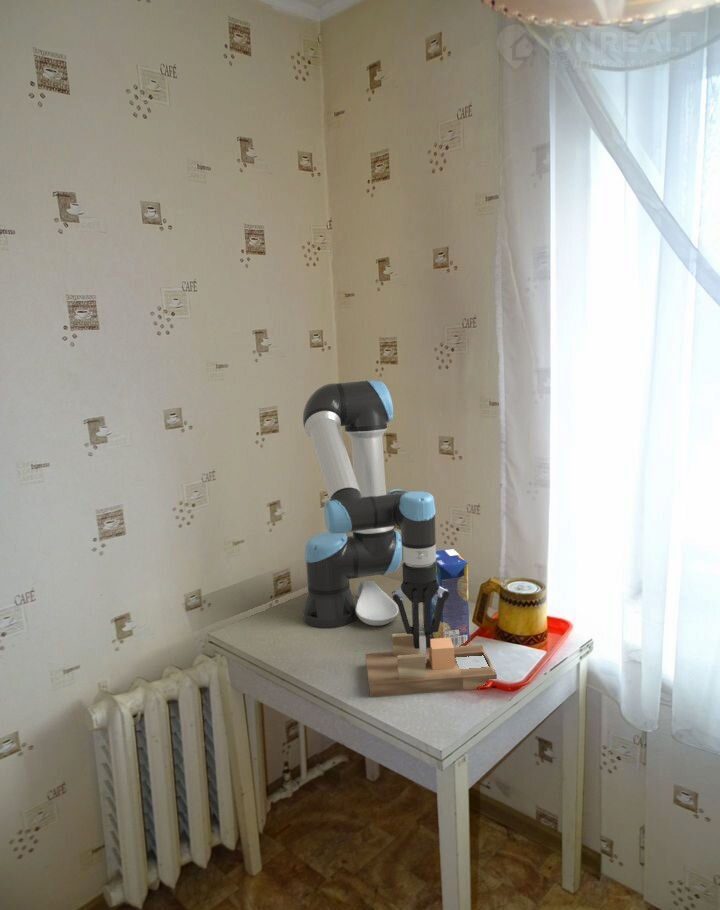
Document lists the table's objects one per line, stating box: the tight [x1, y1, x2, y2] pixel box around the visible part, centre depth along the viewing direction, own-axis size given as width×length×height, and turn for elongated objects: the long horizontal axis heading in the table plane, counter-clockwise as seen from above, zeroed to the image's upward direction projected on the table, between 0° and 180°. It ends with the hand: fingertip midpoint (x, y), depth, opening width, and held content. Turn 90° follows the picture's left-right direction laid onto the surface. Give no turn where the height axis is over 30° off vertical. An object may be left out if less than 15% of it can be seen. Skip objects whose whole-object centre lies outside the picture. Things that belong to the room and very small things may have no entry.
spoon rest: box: [355, 579, 400, 627], centre depth 189 cm, size 24×12×7 cm, turn 12°
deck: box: [365, 632, 498, 698], centre depth 154 cm, size 14×28×8 cm, turn 93°
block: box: [428, 637, 455, 670], centre depth 153 cm, size 5×5×5 cm
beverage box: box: [430, 548, 470, 647], centre depth 170 cm, size 7×11×22 cm, turn 11°
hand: (422, 660), depth 154 cm, fingers closed
